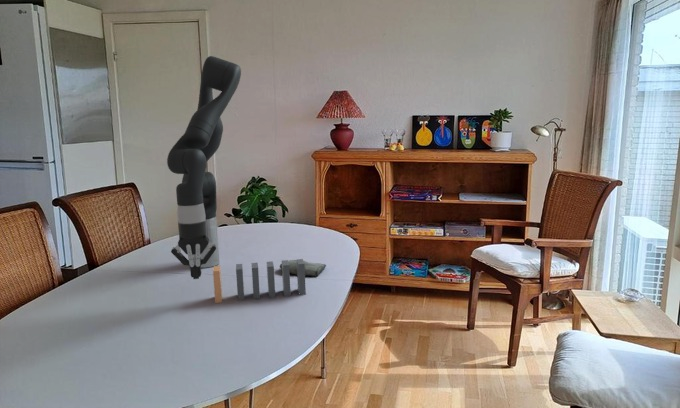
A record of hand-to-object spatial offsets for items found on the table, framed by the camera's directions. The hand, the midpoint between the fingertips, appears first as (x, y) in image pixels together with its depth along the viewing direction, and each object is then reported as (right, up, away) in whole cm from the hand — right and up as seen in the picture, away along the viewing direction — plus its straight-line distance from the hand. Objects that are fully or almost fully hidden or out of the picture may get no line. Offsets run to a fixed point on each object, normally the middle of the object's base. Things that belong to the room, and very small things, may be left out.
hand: (196, 278), depth 145 cm
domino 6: (+30, -5, +7) cm, 31 cm away
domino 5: (+25, -5, +6) cm, 27 cm away
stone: (+28, -2, +26) cm, 39 cm away
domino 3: (+17, -6, +4) cm, 18 cm away
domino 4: (+21, -6, +5) cm, 22 cm away
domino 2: (+12, -6, +4) cm, 14 cm away
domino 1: (+6, -7, +2) cm, 9 cm away
